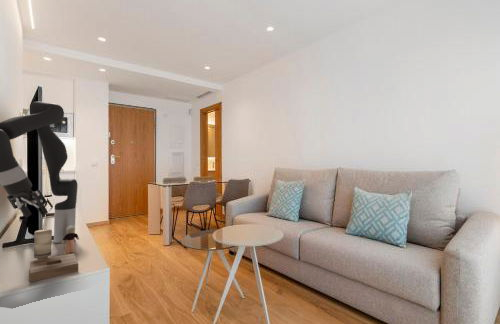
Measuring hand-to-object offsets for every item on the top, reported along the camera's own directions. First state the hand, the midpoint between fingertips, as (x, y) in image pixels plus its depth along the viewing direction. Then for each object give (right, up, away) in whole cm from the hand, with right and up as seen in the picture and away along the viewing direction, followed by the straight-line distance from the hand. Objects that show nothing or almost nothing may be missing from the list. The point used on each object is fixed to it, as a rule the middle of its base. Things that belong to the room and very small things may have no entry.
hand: (36, 215), depth 99 cm
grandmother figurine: (+2, -21, +16) cm, 26 cm away
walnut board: (+9, -21, -3) cm, 23 cm away
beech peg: (-2, -21, +5) cm, 21 cm away
